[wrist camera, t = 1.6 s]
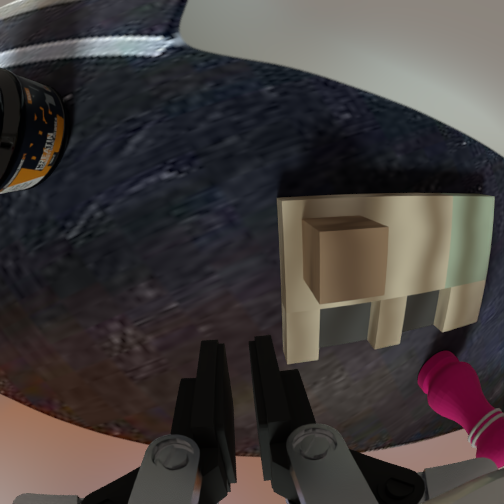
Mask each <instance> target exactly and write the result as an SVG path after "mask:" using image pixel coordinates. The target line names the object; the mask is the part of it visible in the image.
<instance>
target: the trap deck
mask: <svg viewBox="0 0 504 504" xmlns="http://www.w3.org/2000/svg"><path fill="white" fill-rule="evenodd" d="M277 209H278V228H279V248H280V270H281V295H282V325H283V351H284V354H285V358H286V361H287V364H291V363H299V362H306V361H313V360H318V353H319V348H320V347H327V346H333V345H339V344H345V343H351V342H356V341H362V340H368V341H369V342H370V344H371V345H372V346H373V348H374V349H378V348H383V347H387V346H392V345H396V344H400V339H401V333H402V332H405V331H409V330H413V329H417V328H422V327H426V326H430V325H434V326H436V327H437V328H438V329H439V330H440V331H441V332H446V331H449V330H452V329H456V328H459V327H462V326H465V325H468V324H472V323H475V322H477V319H478V315H479V310H480V306H481V301H482V297H483V292H484V287H485V281H486V275H487V269H488V263H489V256H490V248H491V239H492V229H493V216H494V197H493V196H488V195H483V194H465V193H378V194H344V195H320V196H301V197H284V198H277ZM356 215H361V216H363V217H366V218H368V219H370V220H373V221H375V222H378V223H380V224H383V225H385V226H388V227H389V235H388V256H387V271H386V284H385V294H384V295H383V296H377V297H370V298H364V299H357V300H350V301H343V302H335V303H328V304H319V303H318V301H317V300H316V298H315V297H314V295H313V293H312V292H311V290H310V289H309V287H308V286H307V284H306V283H305V281H304V279H303V245H302V219H307V218H322V217H338V216H356Z"/></svg>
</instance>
